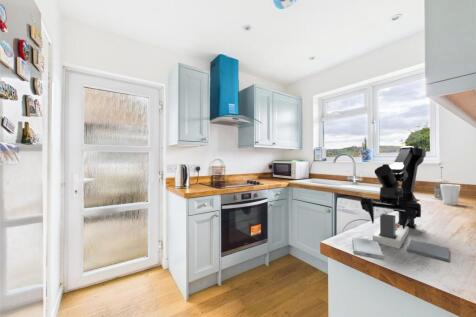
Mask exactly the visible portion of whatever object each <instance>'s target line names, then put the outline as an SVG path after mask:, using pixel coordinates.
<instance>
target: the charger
mask: <svg viewBox="0 0 476 317" xmlns="http://www.w3.org/2000/svg"><path fill="white" fill-rule="evenodd" d="M395 223H396V215H393V214H387V213H382V214H380V215H379V224H380V225H379V226H380V227H379V229H380V236H383V237H387V238H392V239H396V228H395Z"/></svg>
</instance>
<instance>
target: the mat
mask: <svg viewBox="0 0 476 317" xmlns="http://www.w3.org/2000/svg"><path fill="white" fill-rule="evenodd" d="M406 252H409V253H412V254H413V253H414V254H416V255H417V254H418V255H419V256H420V255H422V256H424V257H429V258H433V259H436V260H440V261H444V262H448V263H450V247H446V246H441V245H436V244H432V243H428V242H423V241H418V240H414V239H411V240H410V241H409V243H408V245H407V247H406Z"/></svg>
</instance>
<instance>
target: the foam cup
mask: <svg viewBox="0 0 476 317" xmlns="http://www.w3.org/2000/svg"><path fill="white" fill-rule="evenodd" d="M439 186H440V188H441V192H442V197H443V200H442V201H443V204H445V205H449V206H450V205H451V206H452V205H453V206H457V205H458V201H459V197H460V190H461V184H453V183H451V184H450V183H442V184H441V183H440V184H439Z"/></svg>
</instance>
